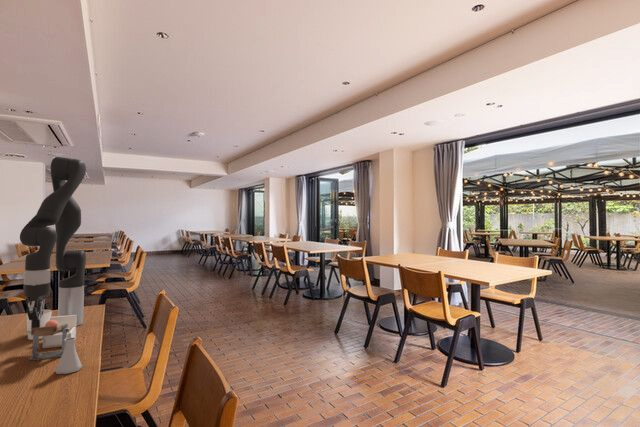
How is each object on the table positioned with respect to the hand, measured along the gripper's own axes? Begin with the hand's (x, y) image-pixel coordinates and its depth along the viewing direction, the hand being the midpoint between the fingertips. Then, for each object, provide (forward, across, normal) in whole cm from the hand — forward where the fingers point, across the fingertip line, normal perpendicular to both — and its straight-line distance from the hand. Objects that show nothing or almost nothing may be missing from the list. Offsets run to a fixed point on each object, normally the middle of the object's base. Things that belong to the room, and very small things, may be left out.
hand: (35, 329), depth 126 cm
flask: (+8, +22, +14) cm, 27 cm away
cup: (+8, -7, +6) cm, 12 cm away
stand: (+8, +7, +6) cm, 12 cm away
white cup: (+8, -17, -3) cm, 19 cm away
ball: (-3, +6, +6) cm, 9 cm away
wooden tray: (0, +7, +3) cm, 8 cm away
